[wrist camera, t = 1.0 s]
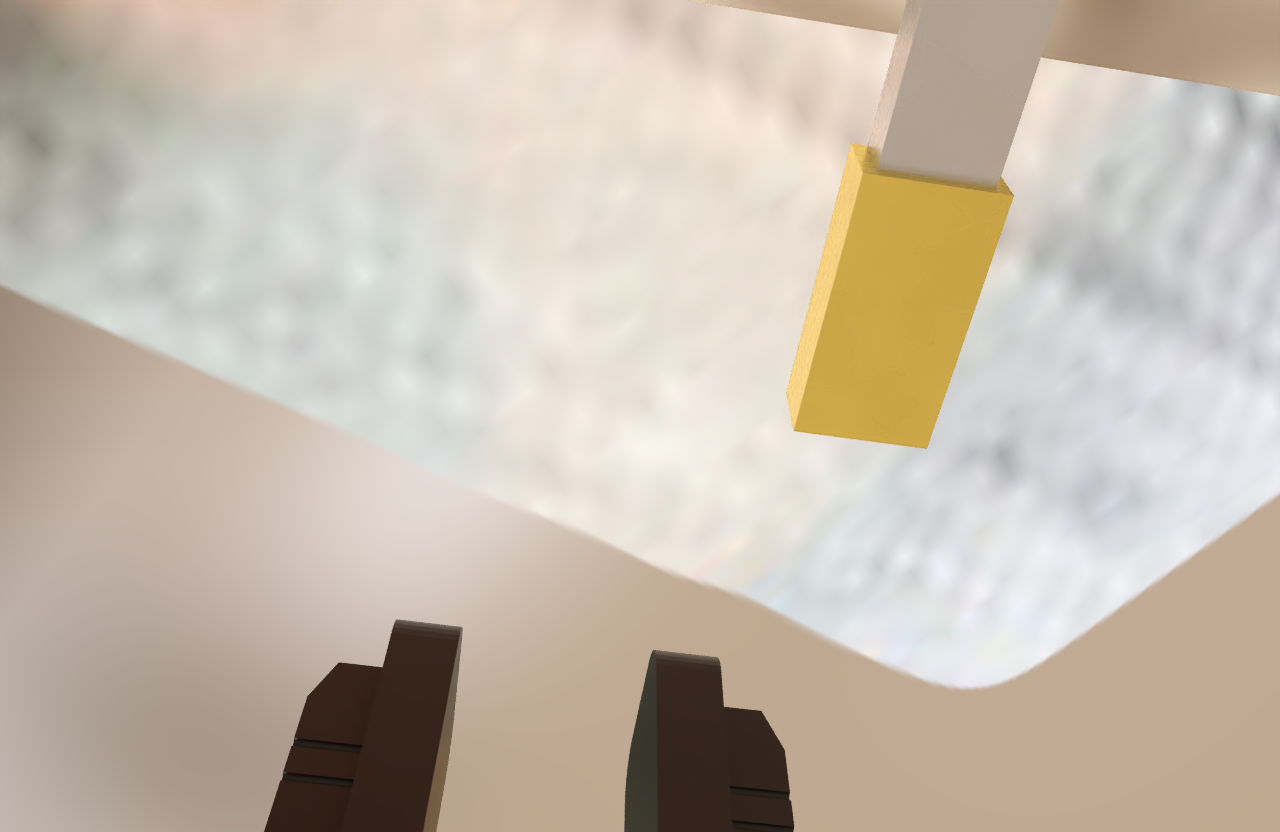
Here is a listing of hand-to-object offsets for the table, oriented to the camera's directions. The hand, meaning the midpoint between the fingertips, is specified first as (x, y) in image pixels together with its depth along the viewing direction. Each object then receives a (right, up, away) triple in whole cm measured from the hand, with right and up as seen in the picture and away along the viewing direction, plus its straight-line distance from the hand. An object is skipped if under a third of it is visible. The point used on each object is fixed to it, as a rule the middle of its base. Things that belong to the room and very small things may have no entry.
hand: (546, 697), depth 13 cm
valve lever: (+7, +10, +11) cm, 17 cm away
